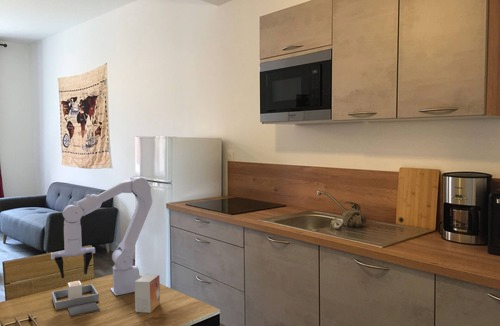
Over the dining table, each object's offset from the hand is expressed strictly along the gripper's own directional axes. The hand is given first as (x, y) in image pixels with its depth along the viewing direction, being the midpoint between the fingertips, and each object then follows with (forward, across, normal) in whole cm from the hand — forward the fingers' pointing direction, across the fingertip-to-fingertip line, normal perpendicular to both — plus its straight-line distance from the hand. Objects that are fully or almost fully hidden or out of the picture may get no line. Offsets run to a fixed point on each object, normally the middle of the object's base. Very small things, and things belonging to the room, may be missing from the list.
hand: (74, 275), depth 145 cm
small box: (+9, -20, +22) cm, 31 cm away
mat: (+9, -1, +11) cm, 14 cm away
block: (+9, 0, 0) cm, 9 cm away
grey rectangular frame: (+9, 0, 0) cm, 9 cm away
